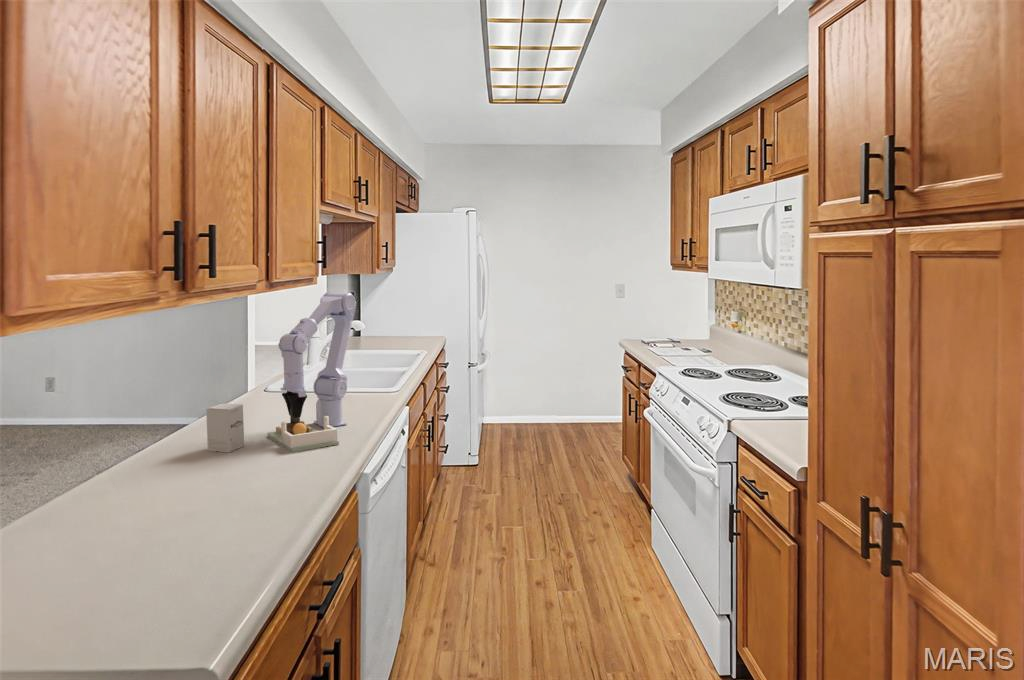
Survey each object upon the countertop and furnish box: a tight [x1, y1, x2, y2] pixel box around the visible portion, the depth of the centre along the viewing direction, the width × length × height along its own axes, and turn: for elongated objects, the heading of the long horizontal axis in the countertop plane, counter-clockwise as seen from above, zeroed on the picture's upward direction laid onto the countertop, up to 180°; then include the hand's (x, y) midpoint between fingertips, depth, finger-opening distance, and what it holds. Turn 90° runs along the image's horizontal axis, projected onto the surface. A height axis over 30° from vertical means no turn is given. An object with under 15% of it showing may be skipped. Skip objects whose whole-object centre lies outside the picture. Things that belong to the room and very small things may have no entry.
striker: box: [286, 407, 305, 434], centre depth 212 cm, size 3×5×8 cm, turn 128°
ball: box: [293, 423, 307, 435], centre depth 209 cm, size 4×4×4 cm
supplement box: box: [205, 403, 245, 453], centre depth 198 cm, size 7×7×13 cm
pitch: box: [267, 416, 340, 453], centre depth 207 cm, size 22×14×7 cm, turn 37°
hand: (295, 416), depth 212 cm, fingers closed on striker, 3 cm apart
